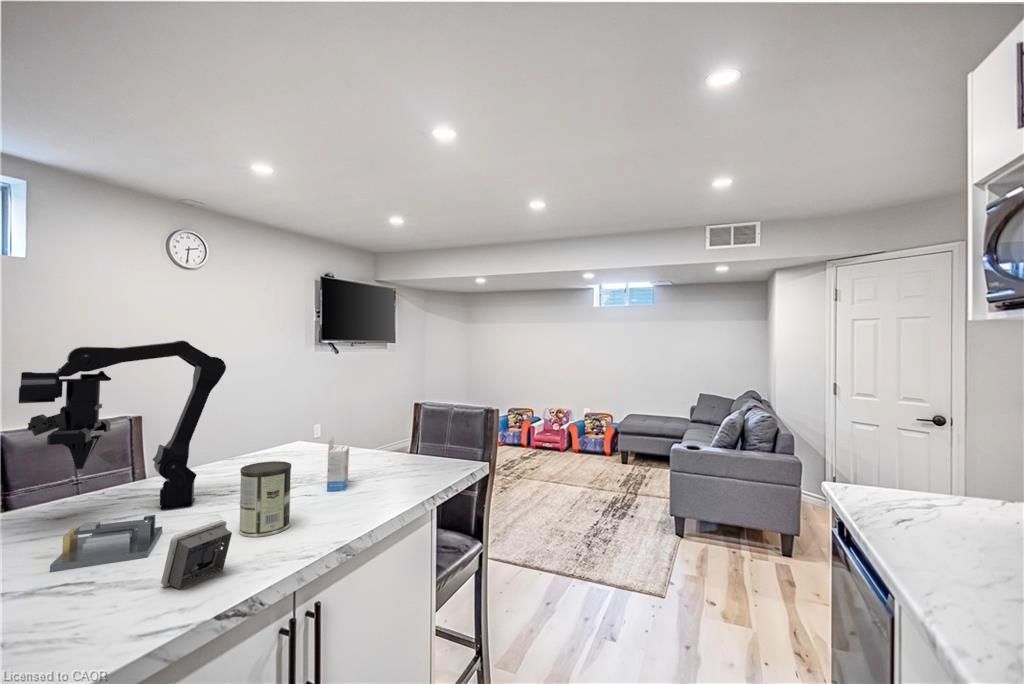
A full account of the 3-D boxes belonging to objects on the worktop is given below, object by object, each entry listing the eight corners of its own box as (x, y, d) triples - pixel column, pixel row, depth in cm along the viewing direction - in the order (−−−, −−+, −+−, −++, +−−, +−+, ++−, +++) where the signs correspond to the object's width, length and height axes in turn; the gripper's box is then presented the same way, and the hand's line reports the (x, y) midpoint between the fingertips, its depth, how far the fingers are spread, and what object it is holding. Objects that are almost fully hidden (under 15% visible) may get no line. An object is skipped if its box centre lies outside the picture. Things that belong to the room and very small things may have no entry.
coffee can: (265, 518, 112) (267, 459, 112) (299, 524, 108) (301, 463, 109) (227, 533, 102) (229, 469, 102) (263, 540, 98) (265, 473, 99)
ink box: (344, 491, 134) (346, 440, 134) (326, 492, 133) (327, 440, 133) (348, 483, 142) (349, 435, 143) (331, 483, 141) (332, 435, 142)
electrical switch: (213, 565, 87) (218, 516, 87) (232, 573, 85) (237, 523, 85) (159, 588, 78) (164, 534, 78) (178, 597, 76) (184, 542, 76)
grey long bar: (152, 523, 97) (153, 515, 97) (149, 528, 94) (149, 519, 94) (78, 532, 91) (79, 523, 91) (73, 537, 89) (74, 528, 89)
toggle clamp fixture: (162, 532, 102) (163, 508, 102) (147, 557, 90) (148, 530, 90) (78, 543, 95) (79, 517, 96) (49, 572, 83) (51, 542, 83)
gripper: (52, 398, 111) (49, 463, 111) (14, 406, 95) (11, 483, 94) (112, 396, 116) (109, 459, 116) (86, 404, 100) (83, 477, 99)
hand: (80, 468), depth 106 cm, fingers closed
